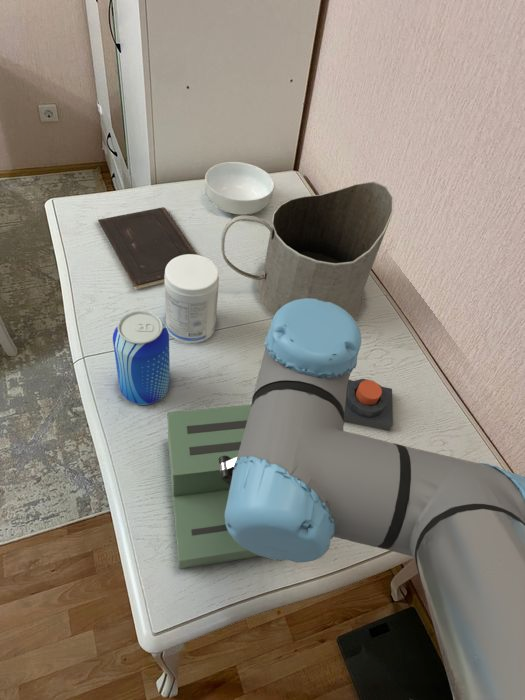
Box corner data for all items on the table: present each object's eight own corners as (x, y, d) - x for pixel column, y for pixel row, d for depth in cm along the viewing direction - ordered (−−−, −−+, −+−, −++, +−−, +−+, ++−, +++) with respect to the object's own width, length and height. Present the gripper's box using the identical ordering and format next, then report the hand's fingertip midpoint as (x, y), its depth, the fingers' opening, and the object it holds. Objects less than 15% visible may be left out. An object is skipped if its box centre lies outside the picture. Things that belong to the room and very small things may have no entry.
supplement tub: (186, 303, 102) (187, 245, 91) (224, 324, 99) (230, 267, 88) (155, 331, 96) (152, 273, 85) (195, 354, 94) (198, 297, 82)
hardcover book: (134, 293, 102) (133, 285, 100) (99, 228, 114) (97, 219, 112) (206, 275, 108) (207, 267, 106) (165, 214, 120) (165, 206, 118)
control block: (388, 433, 88) (396, 419, 84) (331, 422, 88) (338, 407, 84) (387, 397, 93) (395, 382, 90) (334, 386, 93) (340, 371, 90)
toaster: (297, 551, 72) (312, 523, 65) (178, 570, 69) (179, 543, 61) (271, 437, 84) (281, 401, 76) (168, 448, 80) (167, 411, 72)
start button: (378, 407, 86) (382, 401, 84) (355, 403, 86) (358, 396, 84) (378, 389, 89) (381, 382, 87) (356, 384, 89) (359, 377, 87)
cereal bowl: (218, 229, 119) (220, 204, 114) (194, 190, 128) (195, 165, 123) (281, 219, 125) (286, 194, 120) (254, 182, 134) (257, 158, 129)
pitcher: (376, 329, 104) (421, 230, 85) (226, 341, 97) (238, 235, 78) (342, 257, 118) (373, 158, 99) (208, 262, 111) (215, 156, 92)
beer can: (147, 417, 84) (142, 356, 71) (109, 392, 86) (98, 328, 74) (179, 385, 89) (180, 323, 76) (143, 362, 91) (138, 298, 79)
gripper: (336, 391, 55) (296, 486, 72) (217, 401, 52) (206, 498, 70) (357, 452, 50) (309, 538, 68) (228, 467, 47) (213, 552, 65)
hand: (257, 517), depth 69 cm, fingers closed
